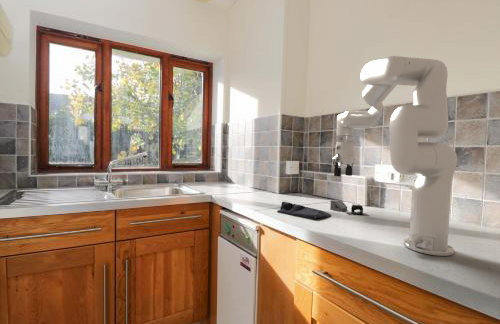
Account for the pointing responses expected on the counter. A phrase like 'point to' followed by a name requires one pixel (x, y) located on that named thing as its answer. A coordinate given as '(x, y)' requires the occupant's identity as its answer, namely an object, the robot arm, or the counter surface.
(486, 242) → the counter surface
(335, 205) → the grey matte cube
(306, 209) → the dark grey rough slab
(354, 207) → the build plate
